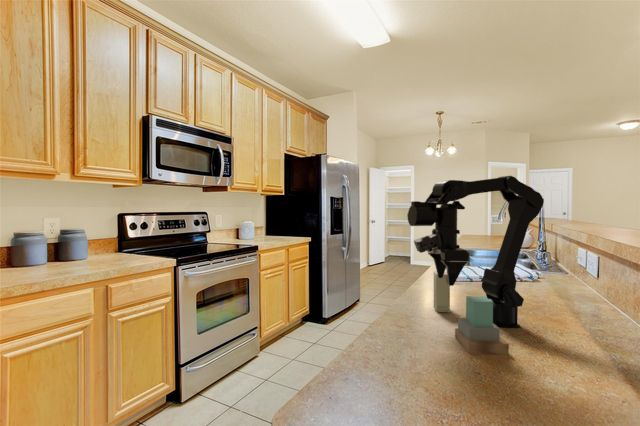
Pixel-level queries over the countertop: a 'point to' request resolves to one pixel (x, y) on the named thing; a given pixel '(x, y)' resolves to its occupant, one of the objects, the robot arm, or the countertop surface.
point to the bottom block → (482, 345)
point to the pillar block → (479, 311)
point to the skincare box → (441, 293)
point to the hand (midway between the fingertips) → (445, 281)
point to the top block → (478, 331)
